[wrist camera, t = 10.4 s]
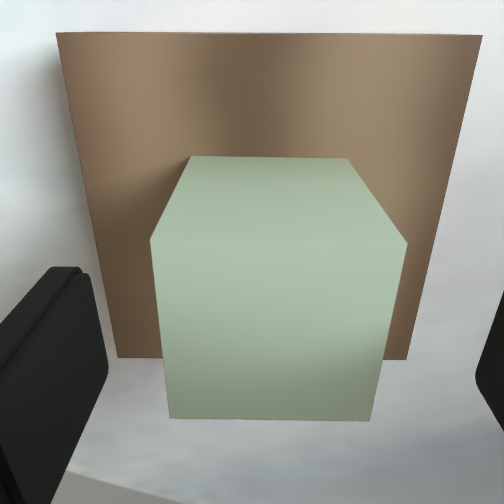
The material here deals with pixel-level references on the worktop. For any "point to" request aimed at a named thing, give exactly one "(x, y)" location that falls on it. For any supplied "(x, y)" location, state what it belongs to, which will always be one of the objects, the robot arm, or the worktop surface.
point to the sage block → (274, 289)
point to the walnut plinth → (259, 136)
